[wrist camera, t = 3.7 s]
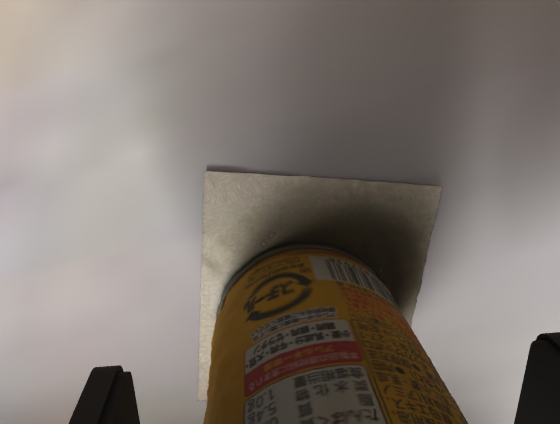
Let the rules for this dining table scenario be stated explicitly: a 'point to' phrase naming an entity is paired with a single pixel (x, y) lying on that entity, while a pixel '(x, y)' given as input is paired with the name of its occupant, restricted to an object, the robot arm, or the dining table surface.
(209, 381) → the condiment
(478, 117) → the dining table surface
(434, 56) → the dining table surface
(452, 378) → the dining table surface
